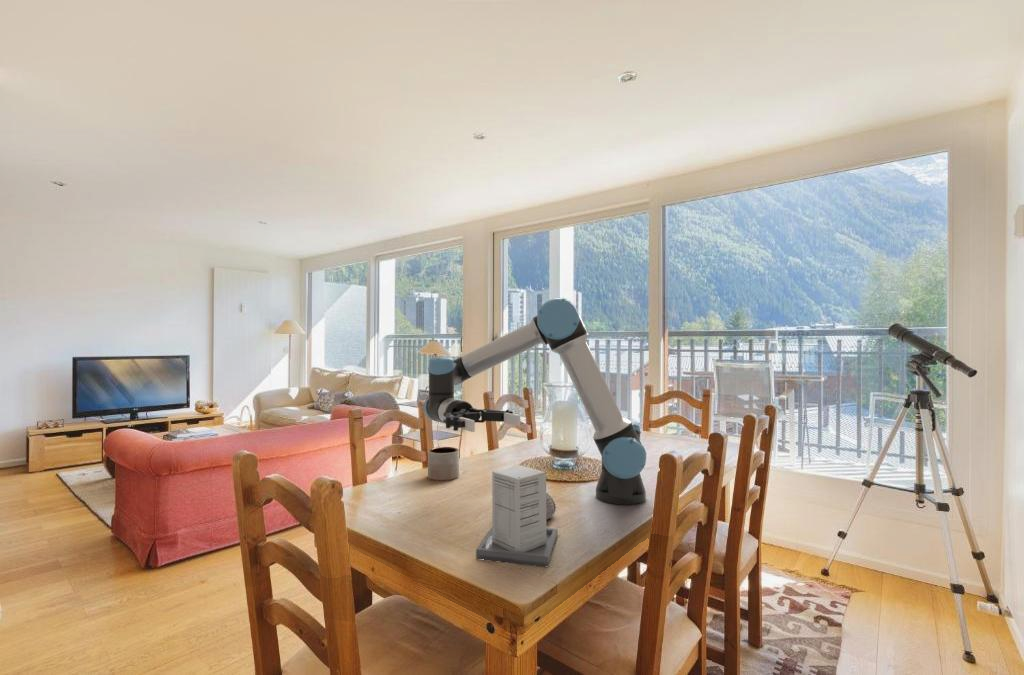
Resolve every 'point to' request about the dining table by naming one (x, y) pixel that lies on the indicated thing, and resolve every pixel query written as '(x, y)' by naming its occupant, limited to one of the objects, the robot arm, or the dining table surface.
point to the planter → (443, 463)
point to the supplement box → (519, 508)
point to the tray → (531, 557)
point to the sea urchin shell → (549, 506)
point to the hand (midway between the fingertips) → (497, 423)
